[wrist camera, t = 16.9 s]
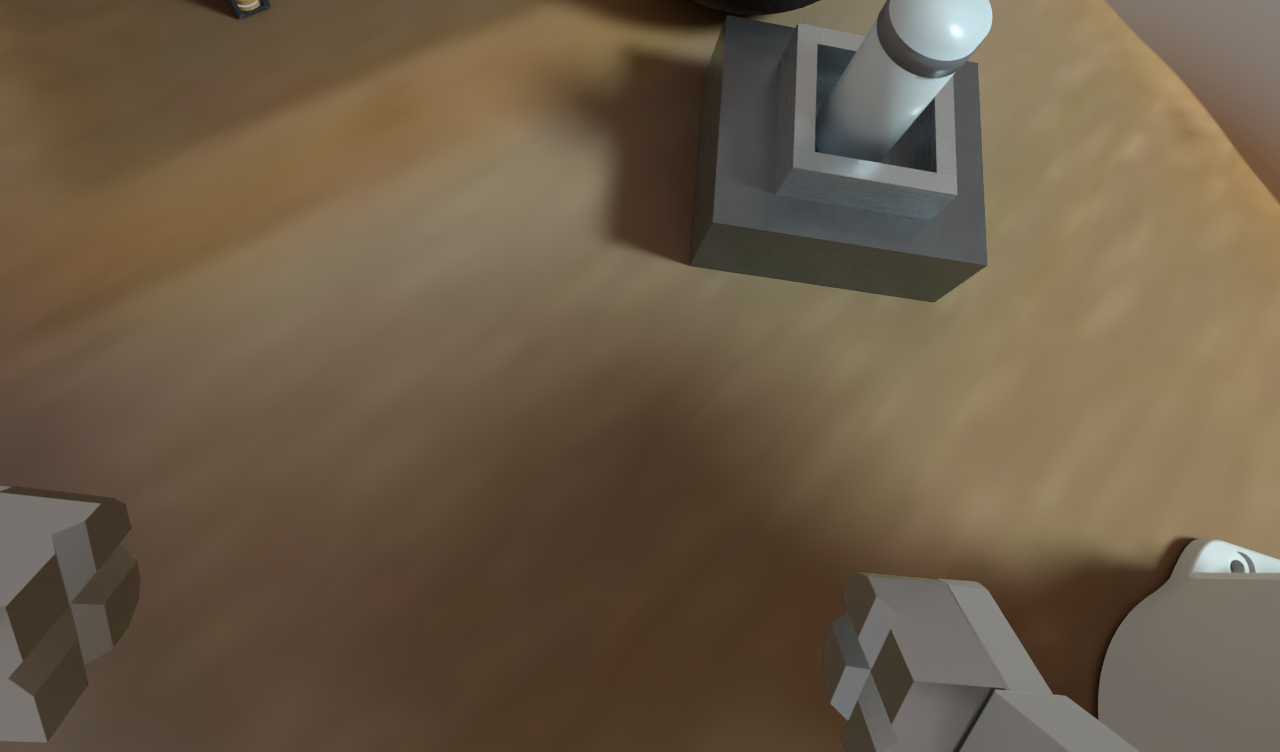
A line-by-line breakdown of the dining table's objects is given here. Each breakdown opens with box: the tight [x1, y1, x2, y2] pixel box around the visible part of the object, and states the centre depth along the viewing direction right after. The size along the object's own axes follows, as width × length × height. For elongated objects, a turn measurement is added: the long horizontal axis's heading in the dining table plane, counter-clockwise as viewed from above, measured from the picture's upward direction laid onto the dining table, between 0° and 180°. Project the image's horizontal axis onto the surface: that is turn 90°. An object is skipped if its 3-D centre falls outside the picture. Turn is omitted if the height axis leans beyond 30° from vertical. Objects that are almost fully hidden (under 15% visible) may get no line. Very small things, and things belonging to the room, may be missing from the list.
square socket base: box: [690, 15, 987, 302], centre depth 40 cm, size 14×12×8 cm
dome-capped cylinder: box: [815, 0, 992, 163], centre depth 34 cm, size 4×4×9 cm
